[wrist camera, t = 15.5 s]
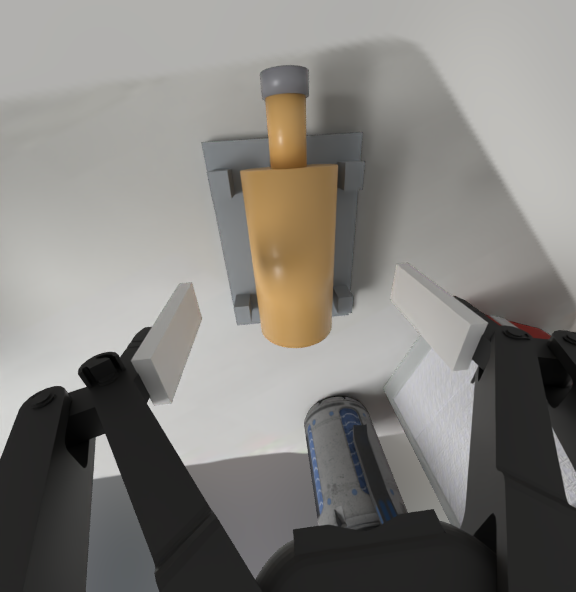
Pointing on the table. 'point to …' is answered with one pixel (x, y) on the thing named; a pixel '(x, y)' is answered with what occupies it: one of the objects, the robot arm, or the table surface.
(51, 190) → the table surface
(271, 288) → the amber bottle
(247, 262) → the u rest
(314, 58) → the table surface
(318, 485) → the smoke grenade
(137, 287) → the table surface
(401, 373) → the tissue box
